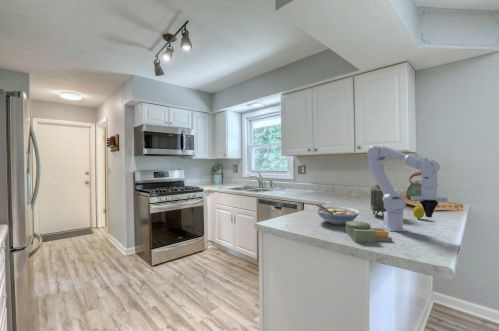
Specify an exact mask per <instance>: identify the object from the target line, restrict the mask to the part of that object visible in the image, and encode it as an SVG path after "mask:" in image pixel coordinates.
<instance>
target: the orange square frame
mask: <svg viewBox="0 0 499 331" xmlns="http://www.w3.org/2000/svg"><path fill="white" fill-rule="evenodd" d="M370 228H371V229H373V230H374V231H375V237H389V234H390V231H389V230H387V229H386V228H384V227H370Z"/></svg>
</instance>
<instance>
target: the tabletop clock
mask: <svg viewBox="0 0 499 331" xmlns="http://www.w3.org/2000/svg"><path fill="white" fill-rule="evenodd" d="M383 196H384V195H383V193H382V191H381V189H380V187H379V185H378V183H376V184H375V185H374V187H371V188H370V209H371V211H372V214H373V215H374V218H378V215H379V213H380V212H381V216H382V217H383V218H384V213H385V212H386V209H385V208H384V202H383V200H382V199H383Z"/></svg>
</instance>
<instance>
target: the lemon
mask: <svg viewBox="0 0 499 331" xmlns="http://www.w3.org/2000/svg"><path fill="white" fill-rule="evenodd" d="M412 214H413V216H414V217H415V218H416V219H417V220H420V219H422V218H423V217H424V216H425V211H424V209H423V206H420V205H416V206H415V207H414V208H413V210H412Z"/></svg>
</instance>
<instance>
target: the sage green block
mask: <svg viewBox="0 0 499 331" xmlns="http://www.w3.org/2000/svg"><path fill="white" fill-rule="evenodd" d="M371 228H372V227H371V224H370V223H368V222H364V221H358V220H357V221H356V220H355V221H354V220H353V221H349V222H346V223H345V233H346V234H347V236H349V237H350V238H351V239H352V240H353V242H355V243H362V242H368V243H367V244H376V242H389V241H392V242H393V237H391V236H388V237H375V231H374V230H373V229H371Z"/></svg>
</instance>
